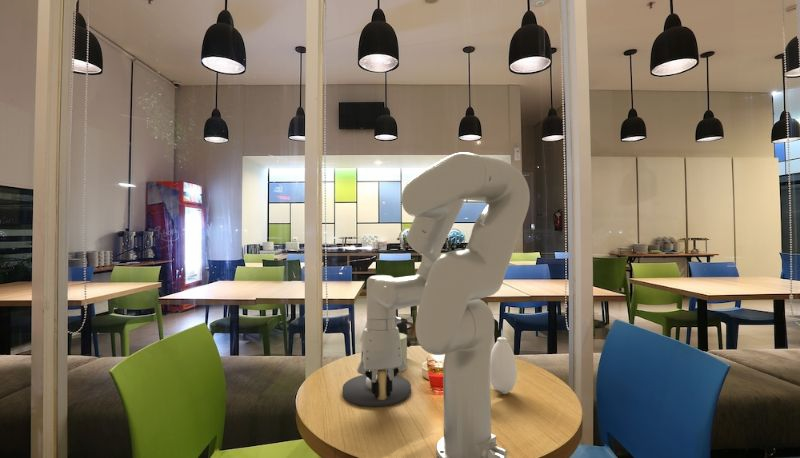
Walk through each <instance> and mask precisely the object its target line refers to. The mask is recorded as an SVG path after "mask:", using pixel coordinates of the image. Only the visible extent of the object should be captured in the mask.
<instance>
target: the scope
mask: <svg viewBox="0 0 800 458" xmlns="http://www.w3.org/2000/svg"><path fill="white" fill-rule="evenodd" d="M400 318H401V317H400ZM397 327H398V330H399V333H403V334H406V335H407V348H410V347H411V346H412V342H411V340H409V337H408V332H409V331H408V319H407V318H403V317H402V318H401V323H398V324H397Z"/></svg>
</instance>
